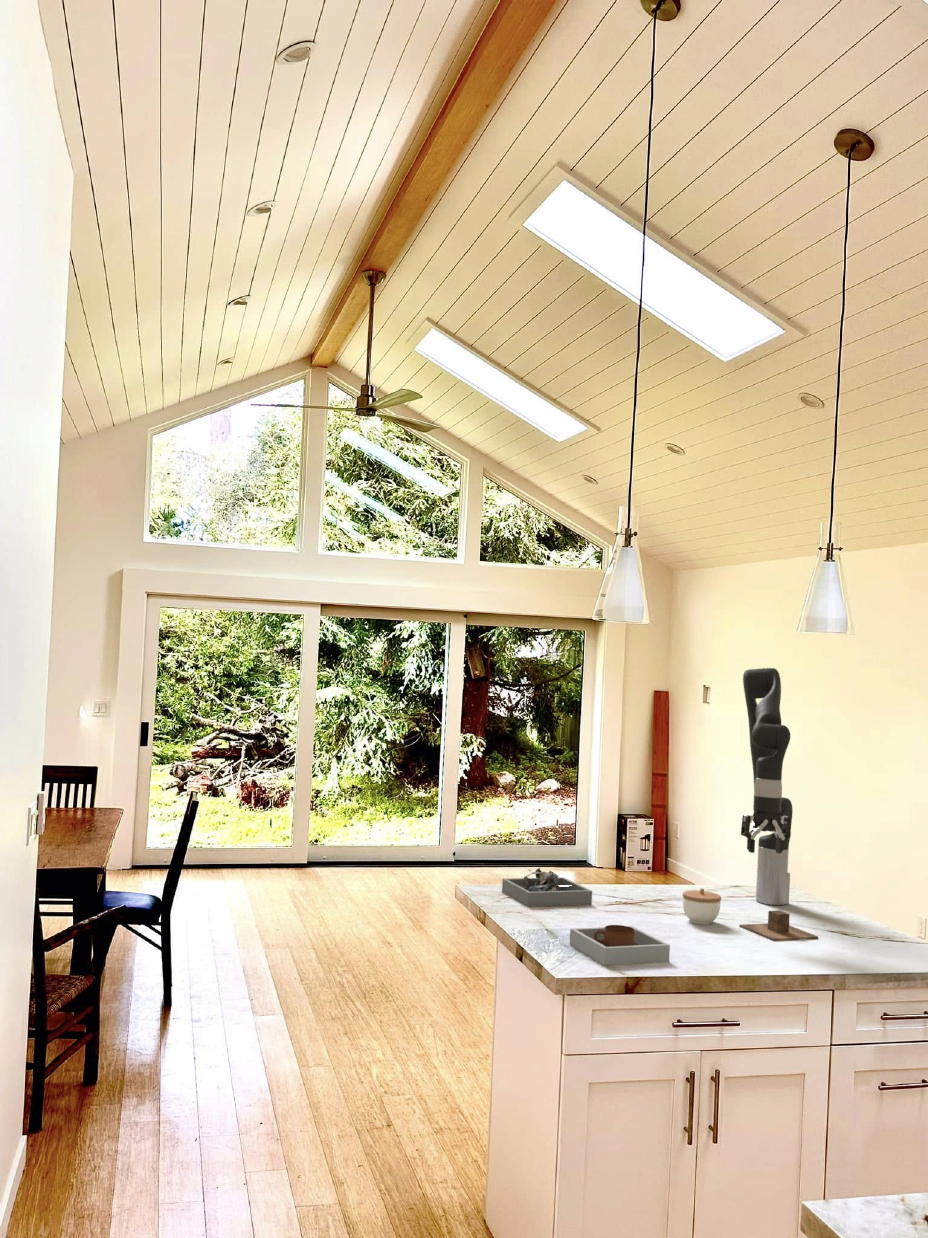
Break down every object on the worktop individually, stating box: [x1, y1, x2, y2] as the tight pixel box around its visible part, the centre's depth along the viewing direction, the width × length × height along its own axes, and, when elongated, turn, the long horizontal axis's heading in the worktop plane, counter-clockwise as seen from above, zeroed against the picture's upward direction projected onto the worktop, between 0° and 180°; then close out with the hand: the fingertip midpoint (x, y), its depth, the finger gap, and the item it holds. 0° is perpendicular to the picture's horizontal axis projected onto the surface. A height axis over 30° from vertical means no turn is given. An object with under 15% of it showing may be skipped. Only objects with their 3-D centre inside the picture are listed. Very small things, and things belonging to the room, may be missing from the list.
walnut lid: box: [738, 910, 819, 942], centre depth 290 cm, size 15×15×6 cm
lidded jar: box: [682, 887, 722, 926], centre depth 297 cm, size 11×11×9 cm
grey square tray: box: [569, 925, 671, 966], centre depth 259 cm, size 18×18×4 cm
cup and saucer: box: [594, 924, 639, 947], centre depth 259 cm, size 12×12×6 cm
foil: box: [523, 867, 559, 892], centre depth 317 cm, size 12×11×15 cm
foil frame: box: [501, 876, 593, 907], centre depth 316 cm, size 21×19×4 cm
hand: (764, 852), depth 293 cm, fingers open, 8 cm apart
